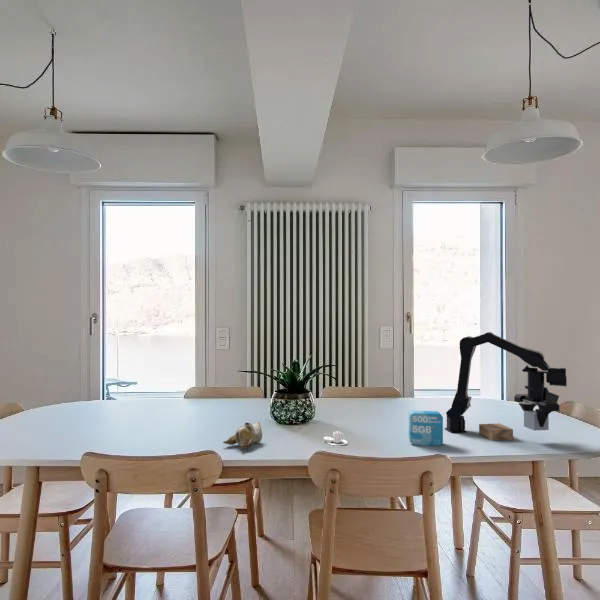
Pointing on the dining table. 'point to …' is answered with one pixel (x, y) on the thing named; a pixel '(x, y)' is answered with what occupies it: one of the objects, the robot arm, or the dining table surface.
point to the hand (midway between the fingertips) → (536, 424)
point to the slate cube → (534, 421)
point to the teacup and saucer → (335, 438)
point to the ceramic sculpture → (246, 435)
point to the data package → (425, 428)
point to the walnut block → (496, 431)
